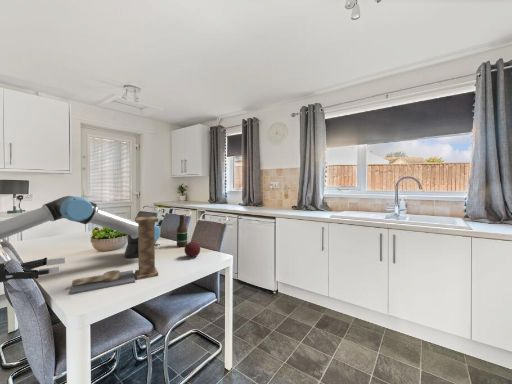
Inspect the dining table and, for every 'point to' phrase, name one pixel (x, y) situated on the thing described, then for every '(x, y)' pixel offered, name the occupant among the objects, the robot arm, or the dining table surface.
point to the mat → (105, 283)
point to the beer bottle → (181, 233)
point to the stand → (146, 247)
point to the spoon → (99, 278)
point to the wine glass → (160, 230)
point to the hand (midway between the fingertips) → (62, 264)
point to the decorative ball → (192, 249)
